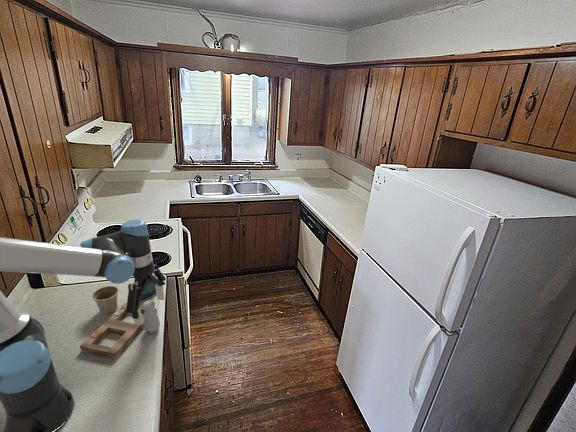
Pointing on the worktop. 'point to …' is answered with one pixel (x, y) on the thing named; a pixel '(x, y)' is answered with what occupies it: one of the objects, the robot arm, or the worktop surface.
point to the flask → (148, 290)
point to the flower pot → (106, 299)
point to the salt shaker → (150, 317)
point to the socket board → (115, 327)
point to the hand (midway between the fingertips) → (150, 310)
